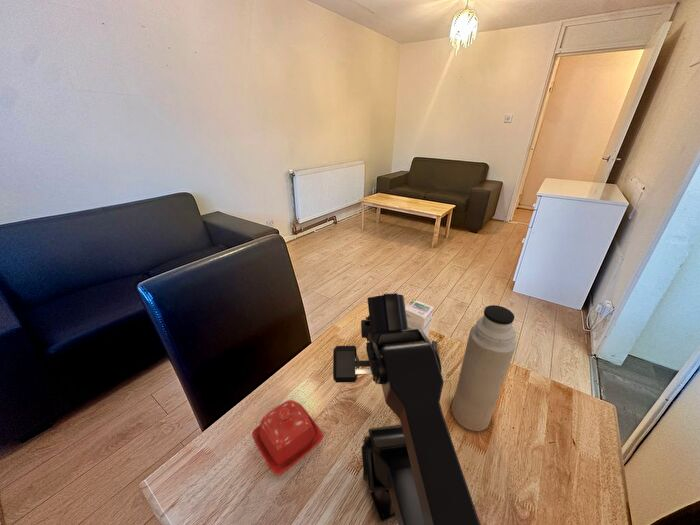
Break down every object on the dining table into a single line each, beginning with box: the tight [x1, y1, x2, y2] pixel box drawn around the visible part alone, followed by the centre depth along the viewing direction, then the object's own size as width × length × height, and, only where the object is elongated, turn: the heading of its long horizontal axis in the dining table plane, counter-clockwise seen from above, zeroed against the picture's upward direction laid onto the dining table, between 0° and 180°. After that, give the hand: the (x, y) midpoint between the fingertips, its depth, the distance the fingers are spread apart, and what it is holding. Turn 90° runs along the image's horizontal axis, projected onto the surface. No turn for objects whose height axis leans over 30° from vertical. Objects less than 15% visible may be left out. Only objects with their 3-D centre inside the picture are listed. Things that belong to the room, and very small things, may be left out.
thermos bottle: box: [451, 304, 517, 432], centre depth 57 cm, size 8×8×28 cm
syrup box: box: [405, 298, 434, 339], centre depth 73 cm, size 6×6×14 cm
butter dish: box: [251, 399, 325, 477], centre depth 57 cm, size 12×12×8 cm
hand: (379, 362), depth 59 cm, fingers open, 9 cm apart
